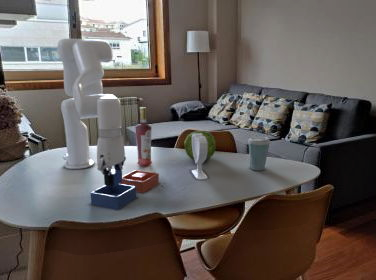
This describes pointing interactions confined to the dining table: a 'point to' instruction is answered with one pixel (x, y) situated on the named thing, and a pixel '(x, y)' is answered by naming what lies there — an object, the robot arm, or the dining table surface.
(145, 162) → the liquor
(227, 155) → the dining table surface
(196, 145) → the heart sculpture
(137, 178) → the rust block
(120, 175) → the blue block
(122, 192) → the blue bin
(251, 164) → the disposable coffee cup
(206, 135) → the lettuce
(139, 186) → the rust bin
